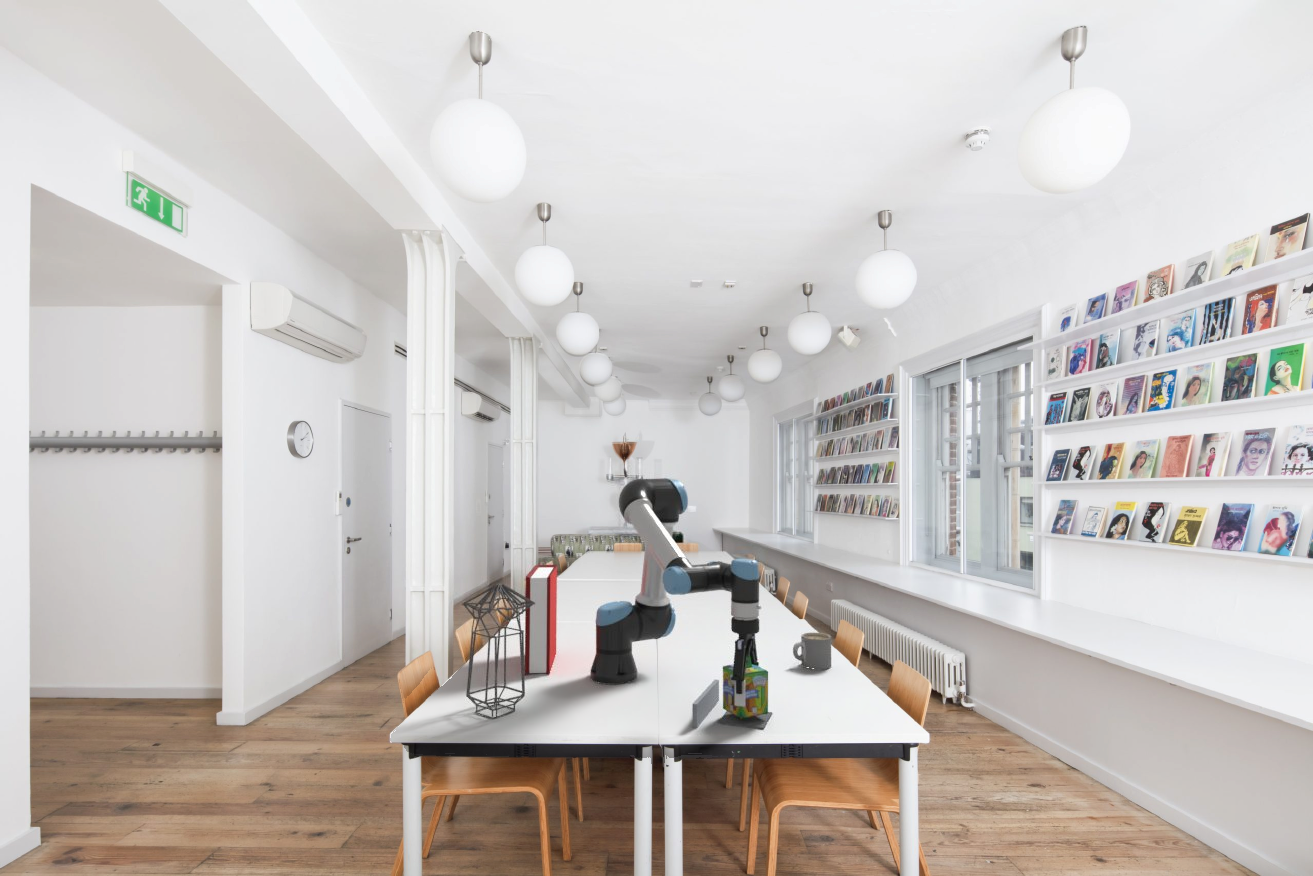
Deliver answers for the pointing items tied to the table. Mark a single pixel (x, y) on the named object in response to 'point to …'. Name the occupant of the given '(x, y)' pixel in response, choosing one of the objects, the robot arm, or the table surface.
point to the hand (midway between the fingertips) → (745, 697)
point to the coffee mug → (814, 650)
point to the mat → (746, 720)
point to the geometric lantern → (504, 591)
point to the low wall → (705, 703)
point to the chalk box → (747, 691)
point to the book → (541, 619)
